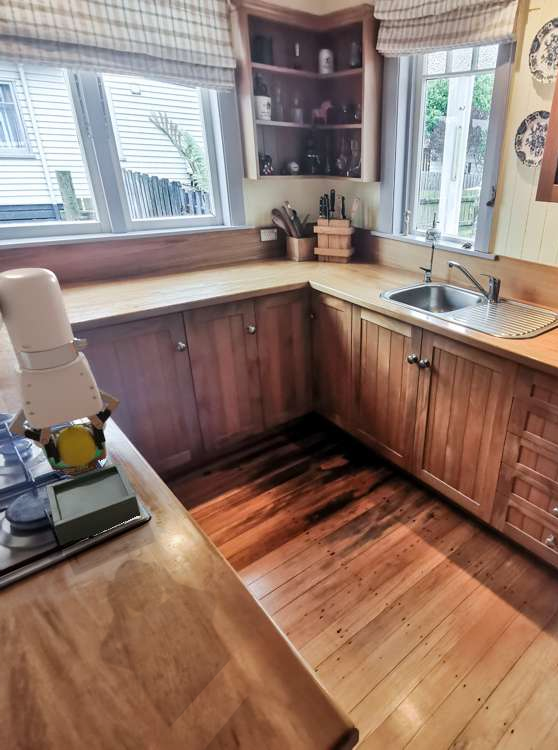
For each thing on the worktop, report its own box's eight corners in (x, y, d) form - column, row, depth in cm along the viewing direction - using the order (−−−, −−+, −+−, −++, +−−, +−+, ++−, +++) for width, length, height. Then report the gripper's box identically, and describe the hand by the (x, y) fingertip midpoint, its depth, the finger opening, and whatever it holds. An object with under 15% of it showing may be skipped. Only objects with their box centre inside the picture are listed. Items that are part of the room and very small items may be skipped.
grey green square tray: (62, 549, 76) (54, 526, 73) (53, 507, 84) (45, 485, 82) (141, 518, 82) (136, 496, 80) (125, 482, 91) (120, 461, 88)
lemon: (89, 452, 82) (77, 413, 78) (108, 463, 79) (97, 423, 76) (56, 468, 78) (42, 428, 74) (75, 480, 75) (62, 439, 72)
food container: (48, 492, 87) (32, 448, 83) (45, 474, 92) (30, 432, 87) (120, 469, 94) (109, 427, 90) (114, 454, 98) (103, 413, 94)
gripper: (106, 334, 77) (129, 426, 85) (-26, 358, 67) (14, 459, 75) (116, 349, 71) (139, 446, 79) (-26, 377, 62) (17, 484, 70)
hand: (78, 451), depth 77 cm, fingers closed on lemon, 5 cm apart
